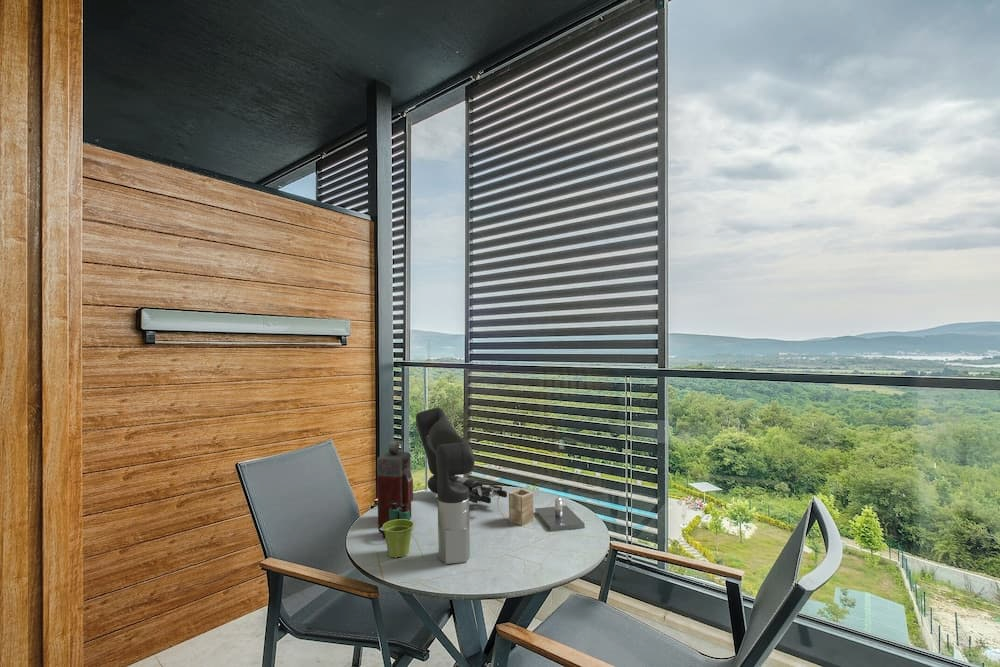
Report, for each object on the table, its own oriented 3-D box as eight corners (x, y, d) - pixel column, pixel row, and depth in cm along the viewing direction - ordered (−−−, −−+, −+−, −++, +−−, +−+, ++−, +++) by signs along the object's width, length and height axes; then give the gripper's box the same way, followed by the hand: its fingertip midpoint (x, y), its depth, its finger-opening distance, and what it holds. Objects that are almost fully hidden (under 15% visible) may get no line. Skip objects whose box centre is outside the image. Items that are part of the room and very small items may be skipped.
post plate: (584, 527, 167) (584, 504, 167) (550, 531, 164) (549, 507, 164) (566, 509, 184) (566, 488, 184) (535, 512, 182) (534, 491, 182)
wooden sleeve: (533, 520, 174) (533, 492, 174) (522, 525, 169) (521, 496, 169) (520, 516, 178) (520, 488, 178) (509, 521, 173) (508, 492, 173)
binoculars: (372, 510, 160) (394, 497, 168) (375, 541, 160) (397, 528, 169) (392, 514, 155) (414, 502, 163) (395, 547, 156) (417, 533, 164)
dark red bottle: (408, 526, 170) (406, 444, 170) (377, 524, 172) (376, 443, 173) (417, 517, 179) (416, 439, 179) (388, 515, 181) (387, 438, 181)
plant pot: (420, 550, 152) (420, 521, 152) (402, 563, 143) (401, 533, 143) (395, 545, 156) (395, 517, 156) (375, 557, 147) (375, 528, 147)
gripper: (453, 483, 187) (484, 491, 176) (480, 474, 197) (511, 482, 186) (454, 503, 187) (484, 513, 176) (481, 493, 197) (511, 502, 186)
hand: (498, 497), depth 181 cm, fingers open, 8 cm apart
